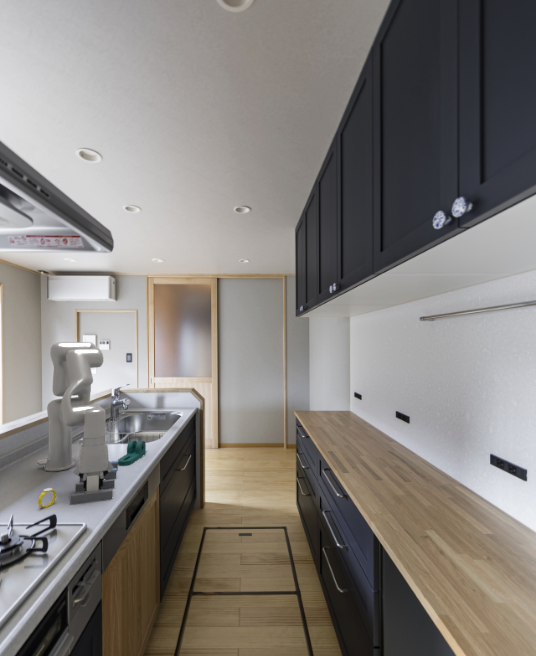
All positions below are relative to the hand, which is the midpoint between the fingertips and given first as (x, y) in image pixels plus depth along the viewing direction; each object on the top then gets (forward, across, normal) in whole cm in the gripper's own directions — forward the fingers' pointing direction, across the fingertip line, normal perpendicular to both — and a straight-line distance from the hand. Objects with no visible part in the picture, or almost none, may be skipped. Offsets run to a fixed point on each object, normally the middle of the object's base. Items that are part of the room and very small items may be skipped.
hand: (93, 488), depth 138 cm
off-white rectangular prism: (+1, 0, 0) cm, 1 cm away
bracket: (+3, +13, +39) cm, 41 cm away
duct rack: (+2, 0, +10) cm, 11 cm away
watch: (+3, -14, -5) cm, 15 cm away
